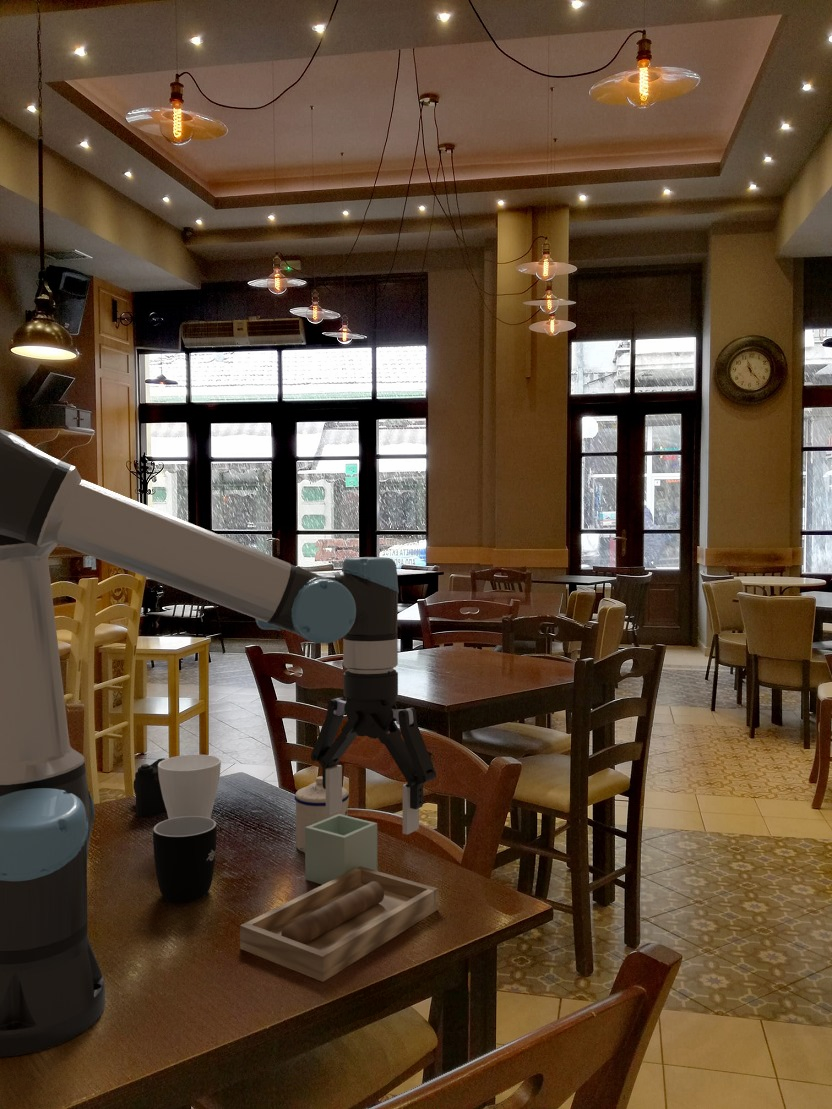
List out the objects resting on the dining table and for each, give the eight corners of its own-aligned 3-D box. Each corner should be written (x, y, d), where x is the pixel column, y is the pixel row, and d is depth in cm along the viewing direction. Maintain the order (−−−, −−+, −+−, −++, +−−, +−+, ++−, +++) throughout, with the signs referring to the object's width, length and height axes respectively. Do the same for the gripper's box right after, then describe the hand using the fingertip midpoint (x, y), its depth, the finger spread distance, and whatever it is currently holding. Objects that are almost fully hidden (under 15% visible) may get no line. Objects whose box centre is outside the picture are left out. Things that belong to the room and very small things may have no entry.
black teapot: (185, 792, 178) (185, 743, 177) (211, 804, 170) (210, 753, 169) (119, 806, 168) (118, 755, 168) (142, 820, 160) (141, 766, 160)
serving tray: (323, 981, 103) (322, 956, 102) (240, 948, 111) (240, 925, 111) (437, 909, 122) (437, 888, 122) (360, 886, 130) (360, 866, 130)
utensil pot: (344, 891, 128) (344, 837, 128) (305, 879, 133) (305, 827, 133) (377, 874, 135) (377, 823, 134) (338, 863, 139) (338, 813, 139)
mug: (215, 905, 124) (214, 834, 123) (149, 909, 122) (149, 838, 122) (219, 872, 136) (219, 807, 135) (160, 876, 134) (159, 811, 134)
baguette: (382, 931, 121) (296, 953, 107) (366, 927, 122) (278, 948, 109) (386, 882, 122) (300, 898, 108) (369, 879, 123) (283, 893, 110)
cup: (189, 856, 142) (188, 774, 142) (144, 844, 148) (144, 765, 147) (234, 836, 151) (233, 759, 151) (190, 826, 157) (190, 751, 156)
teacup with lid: (355, 852, 144) (354, 782, 144) (300, 859, 141) (300, 787, 141) (337, 828, 155) (337, 763, 155) (286, 834, 152) (286, 768, 152)
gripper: (461, 673, 116) (461, 831, 117) (321, 658, 131) (321, 798, 131) (429, 681, 110) (429, 848, 111) (285, 664, 124) (286, 811, 125)
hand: (371, 821), depth 121 cm, fingers open, 13 cm apart
